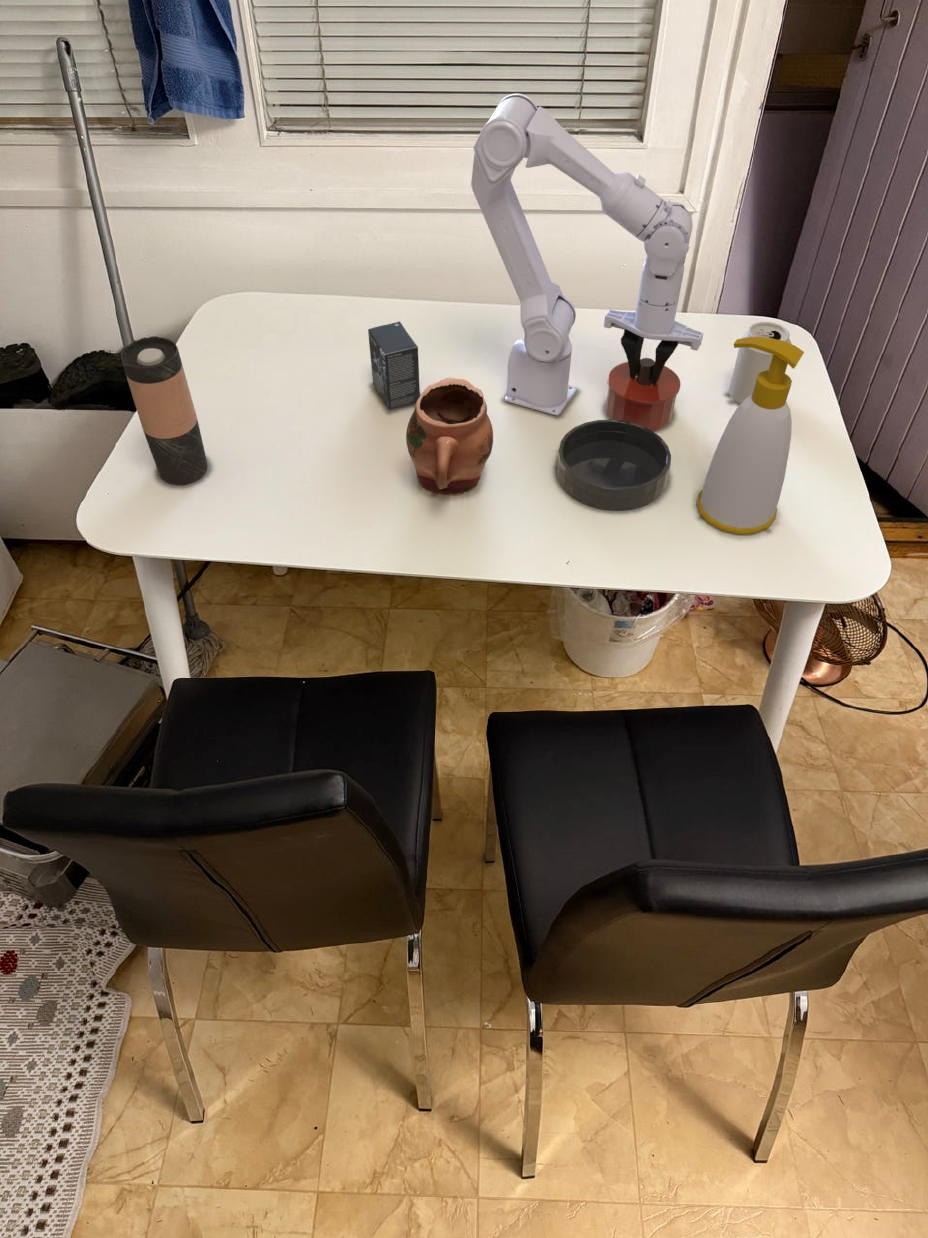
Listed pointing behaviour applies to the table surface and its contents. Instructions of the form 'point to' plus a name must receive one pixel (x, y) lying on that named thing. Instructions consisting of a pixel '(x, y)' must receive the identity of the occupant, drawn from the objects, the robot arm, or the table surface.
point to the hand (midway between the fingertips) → (644, 377)
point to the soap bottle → (753, 449)
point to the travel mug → (165, 409)
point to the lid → (643, 383)
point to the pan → (613, 464)
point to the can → (754, 359)
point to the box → (394, 365)
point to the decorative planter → (449, 437)
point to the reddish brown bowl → (639, 412)
